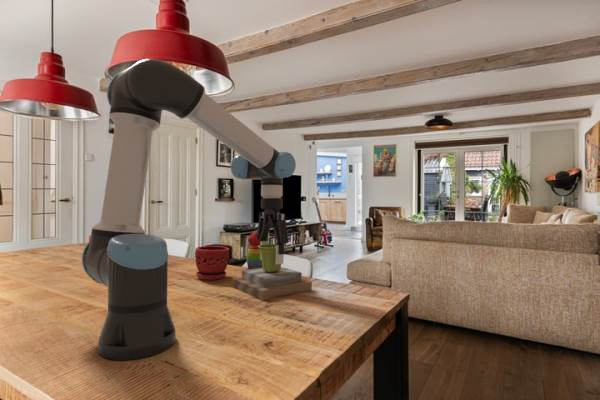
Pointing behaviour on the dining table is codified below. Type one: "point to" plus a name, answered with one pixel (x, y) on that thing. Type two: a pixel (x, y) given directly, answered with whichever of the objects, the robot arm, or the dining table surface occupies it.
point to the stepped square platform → (271, 283)
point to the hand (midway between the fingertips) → (271, 261)
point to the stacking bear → (254, 253)
